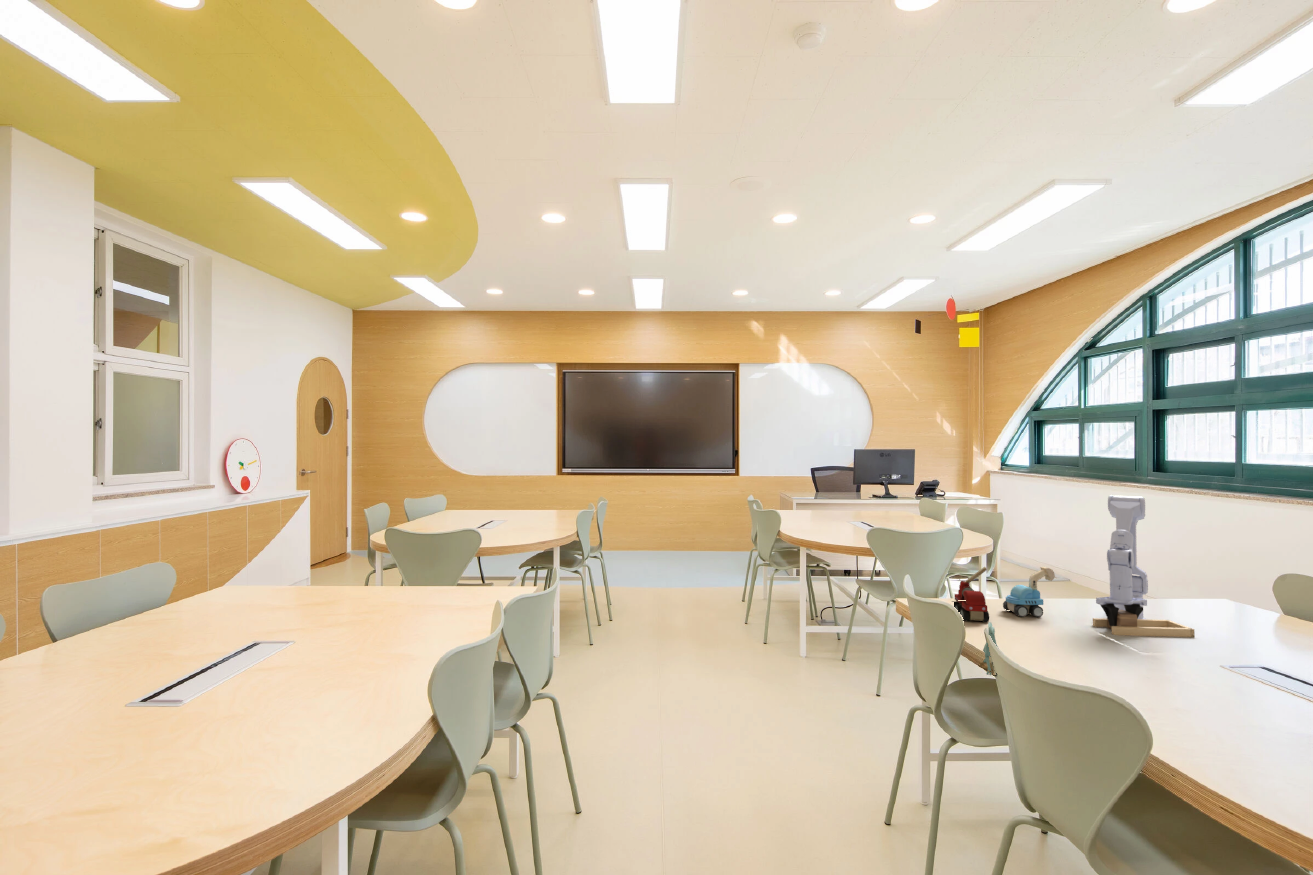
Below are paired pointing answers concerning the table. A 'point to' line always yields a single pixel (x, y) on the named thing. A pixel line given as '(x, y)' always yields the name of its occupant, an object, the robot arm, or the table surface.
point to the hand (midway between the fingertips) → (1121, 626)
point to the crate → (1125, 619)
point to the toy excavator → (1028, 595)
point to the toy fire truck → (971, 601)
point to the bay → (1149, 628)
